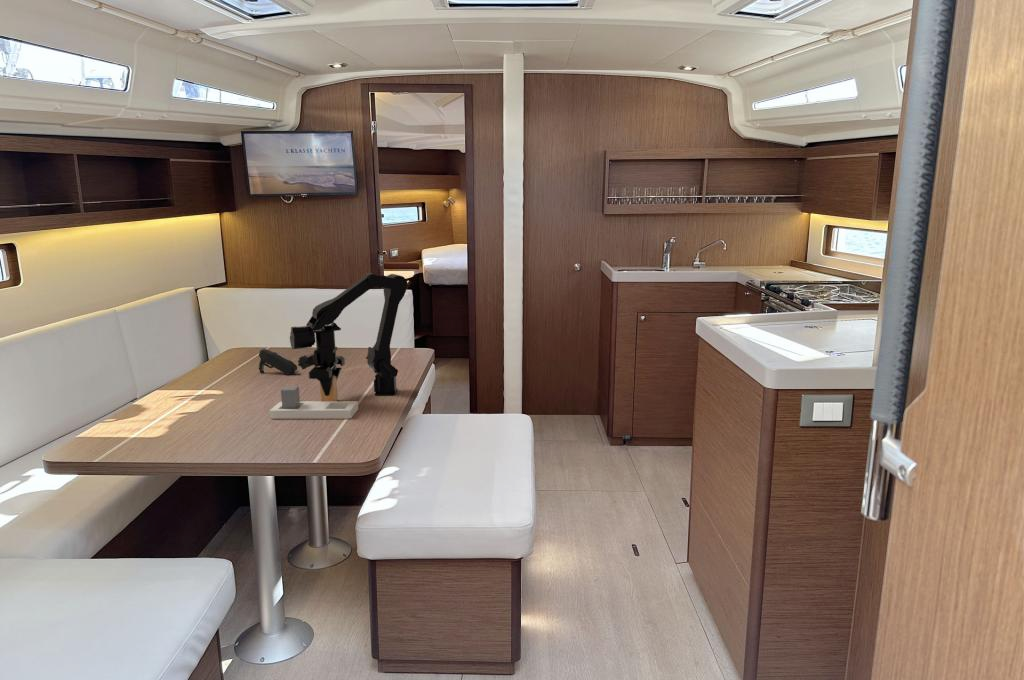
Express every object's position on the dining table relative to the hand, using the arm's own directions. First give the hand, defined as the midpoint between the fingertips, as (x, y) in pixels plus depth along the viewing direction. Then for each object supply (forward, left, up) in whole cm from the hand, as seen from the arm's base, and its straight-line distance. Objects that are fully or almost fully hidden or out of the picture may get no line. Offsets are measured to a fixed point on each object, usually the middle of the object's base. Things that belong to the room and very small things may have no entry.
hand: (329, 393), depth 218 cm
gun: (+29, -35, -3) cm, 46 cm away
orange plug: (0, 0, -3) cm, 3 cm away
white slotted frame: (+1, +12, -3) cm, 12 cm away
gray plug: (+8, +12, -3) cm, 15 cm away
